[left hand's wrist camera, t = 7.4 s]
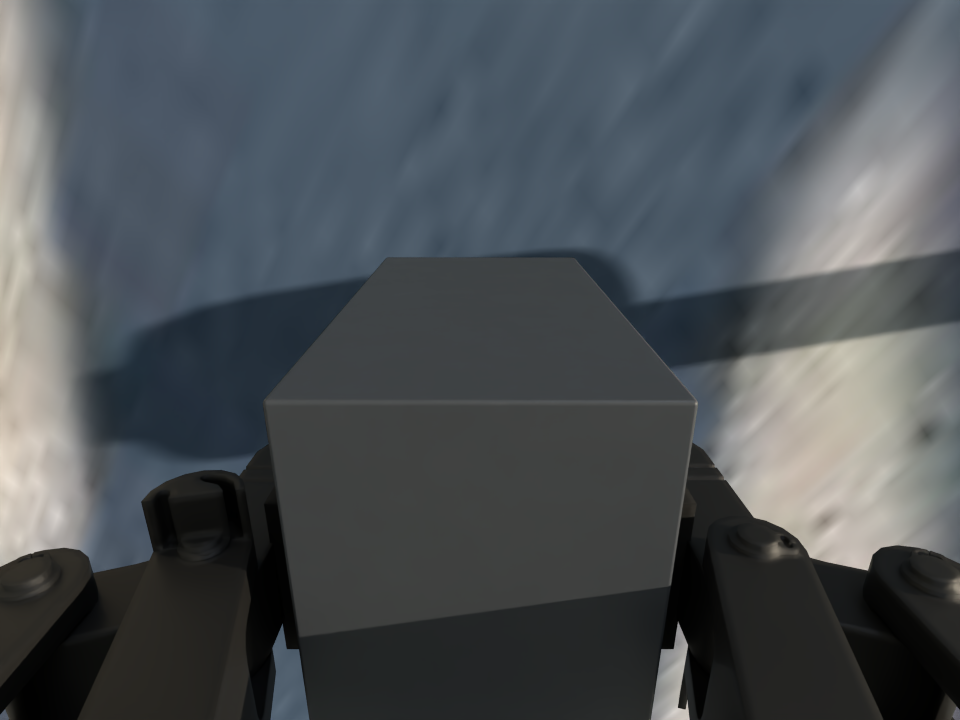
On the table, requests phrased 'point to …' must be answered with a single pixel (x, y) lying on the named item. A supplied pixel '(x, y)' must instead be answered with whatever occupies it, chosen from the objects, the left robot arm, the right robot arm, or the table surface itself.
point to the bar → (480, 497)
